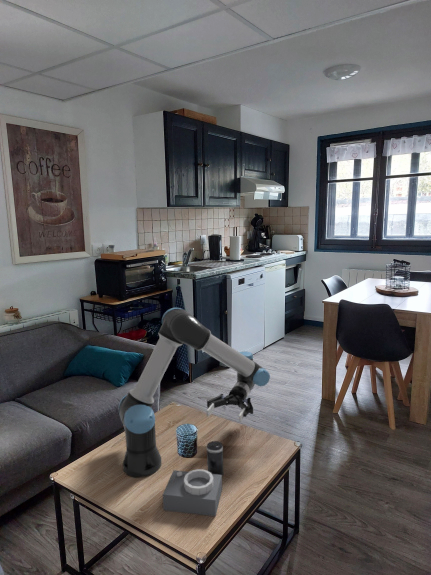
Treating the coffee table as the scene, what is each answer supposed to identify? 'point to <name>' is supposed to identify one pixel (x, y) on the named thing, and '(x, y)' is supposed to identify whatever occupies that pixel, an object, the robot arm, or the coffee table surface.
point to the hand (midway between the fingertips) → (223, 416)
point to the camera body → (193, 492)
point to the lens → (215, 457)
